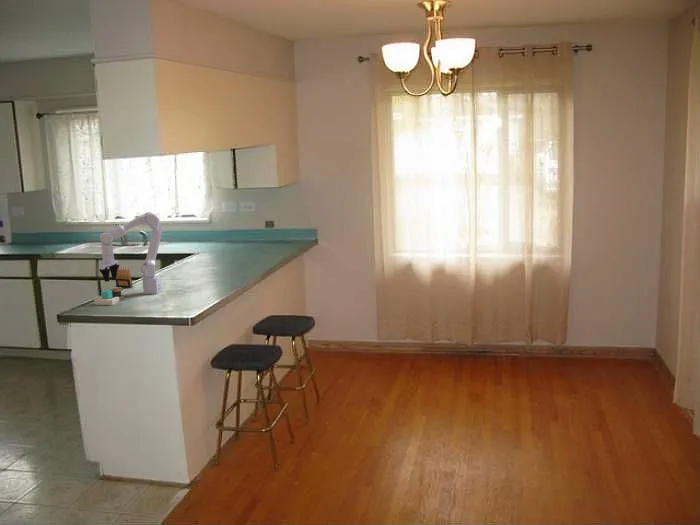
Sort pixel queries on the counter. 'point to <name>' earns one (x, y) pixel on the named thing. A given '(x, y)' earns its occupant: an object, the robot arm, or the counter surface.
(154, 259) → the robot arm
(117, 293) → the bobbin
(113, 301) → the notched board
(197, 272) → the counter surface
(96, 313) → the counter surface
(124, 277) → the ammunition clip
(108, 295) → the tab peg
